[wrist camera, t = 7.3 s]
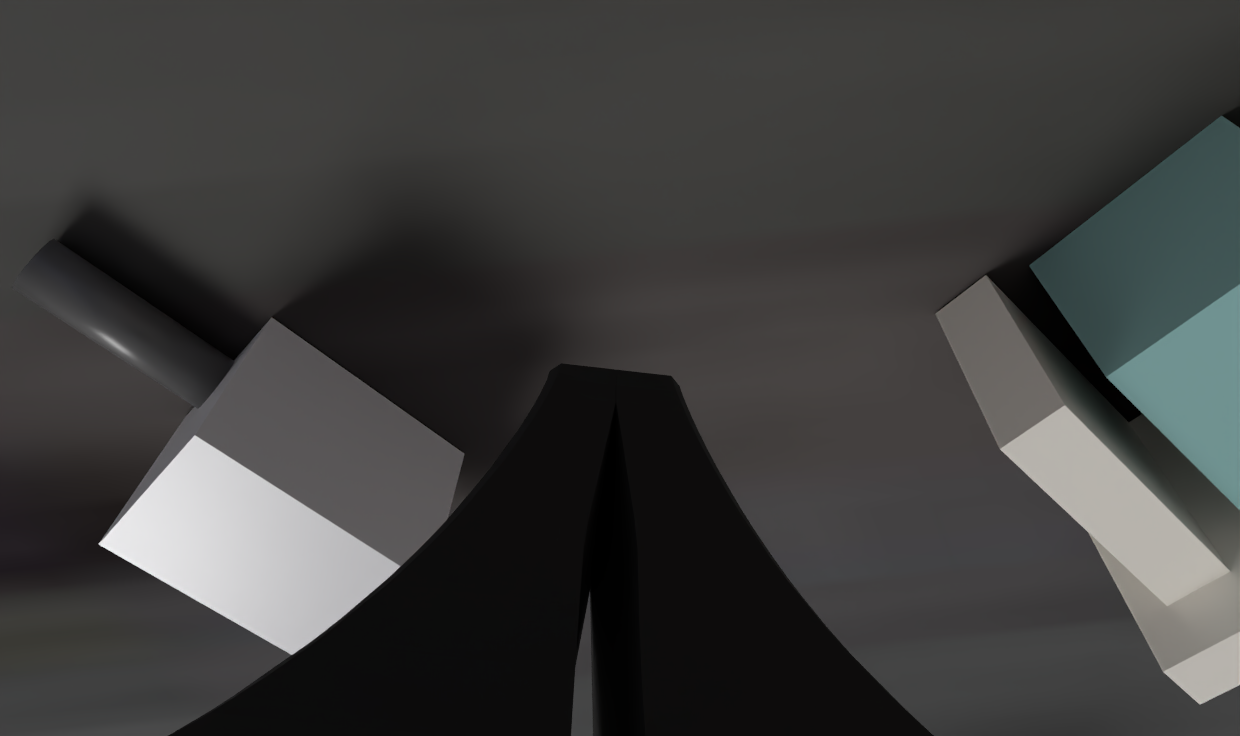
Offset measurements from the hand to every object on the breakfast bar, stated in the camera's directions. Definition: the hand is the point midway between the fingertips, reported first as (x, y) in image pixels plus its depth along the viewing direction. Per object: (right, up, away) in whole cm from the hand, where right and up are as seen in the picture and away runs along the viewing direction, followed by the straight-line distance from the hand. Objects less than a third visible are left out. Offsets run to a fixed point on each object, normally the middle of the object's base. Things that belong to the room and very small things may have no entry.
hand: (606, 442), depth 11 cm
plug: (-7, 0, +10) cm, 13 cm away
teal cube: (+11, +3, +8) cm, 14 cm away
